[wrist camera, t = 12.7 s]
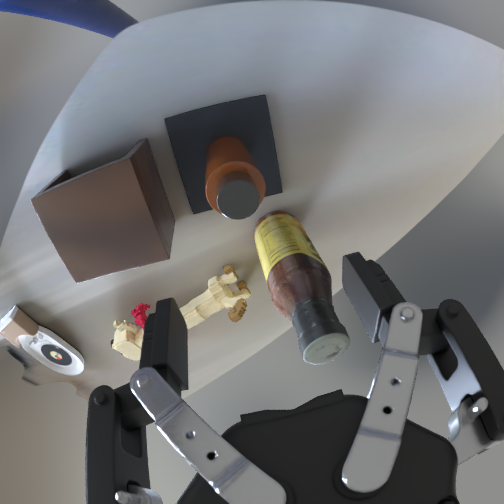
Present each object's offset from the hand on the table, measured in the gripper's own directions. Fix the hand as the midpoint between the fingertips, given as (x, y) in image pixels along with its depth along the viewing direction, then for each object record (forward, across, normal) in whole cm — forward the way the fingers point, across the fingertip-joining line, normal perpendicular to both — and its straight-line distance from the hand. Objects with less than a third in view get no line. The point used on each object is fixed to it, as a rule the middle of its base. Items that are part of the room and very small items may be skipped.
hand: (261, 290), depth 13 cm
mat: (+22, 0, 0) cm, 22 cm away
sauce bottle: (+22, -4, +11) cm, 25 cm away
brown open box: (+22, +14, +1) cm, 26 cm away
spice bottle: (+22, 0, 0) cm, 22 cm away
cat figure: (+22, +14, +21) cm, 34 cm away
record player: (+22, +44, +24) cm, 55 cm away
